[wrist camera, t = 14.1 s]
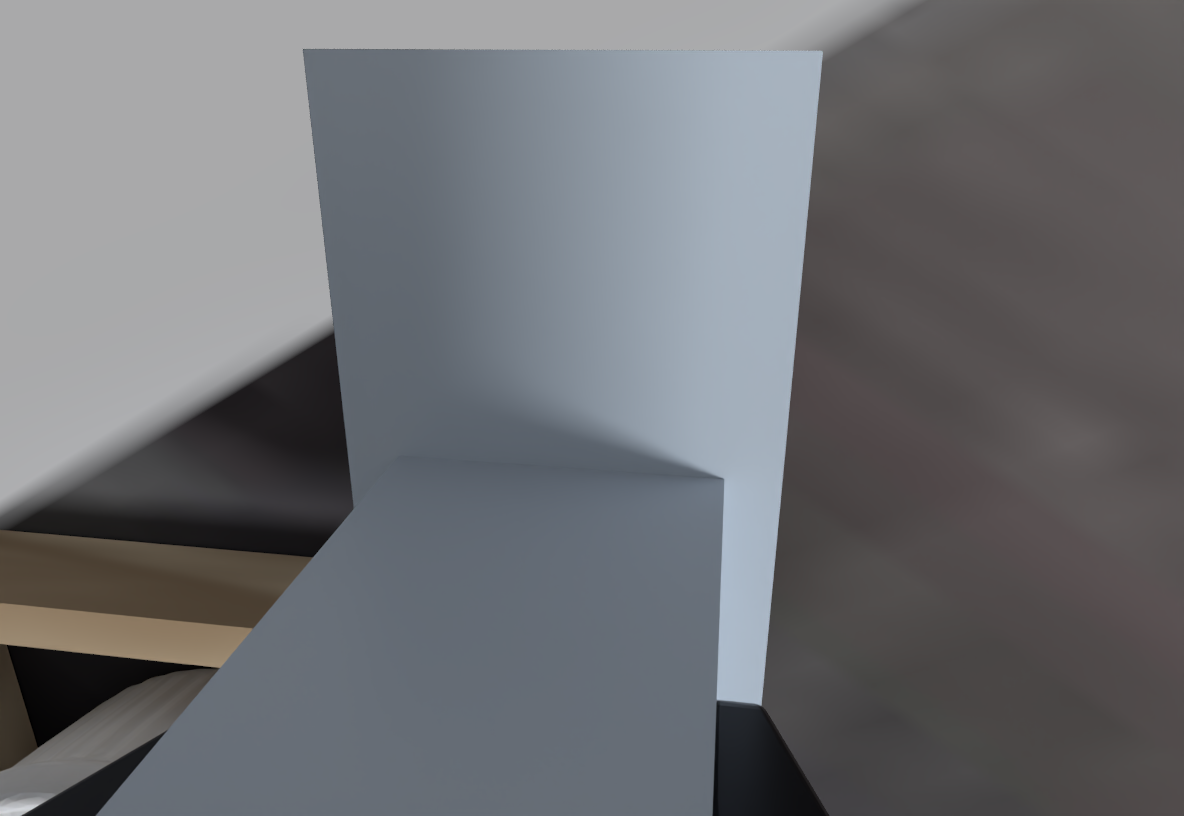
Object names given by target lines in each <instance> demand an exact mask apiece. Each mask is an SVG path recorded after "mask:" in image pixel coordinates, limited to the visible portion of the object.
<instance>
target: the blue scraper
mask: <svg viewBox="0 0 1184 816" xmlns="http://www.w3.org/2000/svg"><path fill="white" fill-rule="evenodd" d="M303 54H304V63H305V73H306V80H307V81H306V82H307V90H308V100H309V108H310V118H311V127H312V136H313V145H314V154H315V163H316V172H317V181H318V189H319V199H320V208H321V215H322V226H323V234H324V243H325V252H326V262H327V270H328V278H329V289H330V298H331V307H332V315H333V325H334V334H335V343H336V352H337V361H338V370H339V379H340V388H341V397H342V406H343V415H344V424H345V433H346V442H347V451H348V460H349V469H350V478H351V487H352V496H353V505H354V509H353V511H352V512H351V513H350V514H349V515H348V517H347V518H346V519H345V520H344V521H343V523H342V524H341V525H340V526H339V527H338V528H337V530H336V531H335V532H334V533H333V534H332V536H331V537H330V538H329V539H328V540H327V542H326V543H325V544H324V545H323V546H322V548H321V549H320V550H319V551H318V552H317V553H316V555H315V556H314V557H313V558H312V559H311V561H310V562H309V563H308V564H307V565H306V567H305V568H304V569H303V570H302V571H301V572H300V574H299V575H298V576H297V577H296V578H295V580H294V581H293V582H292V583H291V584H290V586H289V587H288V588H287V589H286V590H285V591H284V593H283V594H282V595H281V596H280V597H279V599H278V600H277V601H276V602H275V603H274V605H273V606H272V607H271V608H270V609H269V610H268V612H267V613H266V614H265V615H264V616H263V618H262V619H261V620H260V621H259V622H258V624H257V625H256V626H255V627H254V628H253V629H252V631H251V632H250V633H249V634H248V635H247V637H246V638H245V639H244V640H243V641H242V643H241V644H240V645H239V646H238V647H237V649H236V650H235V651H234V652H233V653H232V654H231V656H230V657H229V658H228V659H227V660H226V662H225V663H224V664H223V665H222V666H221V668H220V669H219V670H218V671H217V672H216V673H215V675H214V676H213V677H212V678H211V679H210V681H209V682H208V683H207V684H206V685H205V687H204V688H203V689H202V690H201V691H200V692H199V694H198V695H197V696H196V697H195V698H194V700H193V701H192V702H191V703H190V704H189V706H188V707H187V708H186V709H185V710H184V711H183V713H182V714H181V715H180V716H179V717H178V719H177V720H176V721H175V722H174V723H173V725H172V726H171V727H170V728H169V729H168V730H167V732H166V733H165V734H164V735H163V736H162V738H161V739H160V740H159V741H158V742H157V744H156V745H155V746H154V747H153V748H152V750H151V751H150V752H149V753H148V754H147V755H146V757H145V758H144V759H143V760H142V761H141V763H140V764H139V765H138V766H137V767H136V769H135V770H134V771H133V772H132V773H131V774H130V776H129V777H128V778H127V779H126V780H125V782H124V783H123V784H122V785H121V786H120V788H119V789H118V790H117V791H116V792H115V793H114V795H113V796H112V797H111V798H110V799H109V801H108V802H107V803H106V804H105V805H104V807H103V808H102V809H101V810H100V811H99V812H98V814H97V815H96V816H712V814H713V786H714V758H715V730H716V702H717V700H726V701H735V702H745V703H754V704H758V705H760V706H761V703H762V692H763V682H764V671H765V660H766V650H767V639H768V629H769V618H770V607H771V597H772V586H773V576H774V565H775V554H776V544H777V533H778V523H779V512H780V501H781V491H782V480H783V469H784V459H785V448H786V438H787V427H788V416H789V406H790V395H791V385H792V374H793V363H794V353H795V342H796V331H797V321H798V310H799V300H800V289H801V278H802V268H803V257H804V247H805V236H806V225H807V215H808V204H809V193H810V183H811V172H812V162H813V151H814V140H815V130H816V119H817V109H818V98H819V87H820V77H821V66H822V56H823V51H714V50H712V51H705V50H703V51H702V50H696V51H695V50H428V49H427V50H423V49H421V50H420V49H419V50H415V49H410V50H409V49H405V50H404V49H402V50H401V49H392V50H391V49H303Z"/></svg>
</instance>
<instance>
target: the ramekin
mask: <svg viewBox="0 0 1184 816" xmlns="http://www.w3.org/2000/svg"><path fill="white" fill-rule="evenodd" d="M219 669H220V668H212V669H194V670H188V671H177V672H172V673H169V674H167V675H162V676H156V677H153V678H150V679H148V680H146V681H144V682H142V683H141V684H137V685H133V686H130V687H128V688H126V689H125V690H123V691H121V692H120V693H118V694H117V695H116V696H114V697H112V698H110V699H108V700H107V701H105V702H103V703H102V704H100V705H99V706H97V707H96V708H95V709H93V710H92V711H90V712H89V713H87V714H86V715H85V716H83V717H82V718H80V719H79V720H77V721H76V722H75V723H73V724H72V725H70V726H69V727H68V728H66V729H65V730H63V731H62V732H60V733H59V734H57V735H56V736H55V737H53V738H52V739H50V740H49V741H47V742H46V743H44V744H43V745H42V746H40V747H39V748H37V749H36V750H35V751H33V752H32V753H31V754H29V755H28V756H26V757H25V758H24V759H22V760H21V761H20V762H18V763H17V764H15V765H14V766H13V767H11V768H9V769H6V770H3V771H1V772H0V816H21V815H23V814H25V813H26V812H28V811H30V810H32V809H33V808H35V807H37V806H38V805H40V804H42V803H43V802H45V801H47V800H49V799H50V798H52V797H54V796H55V795H57V794H59V793H61V792H62V791H64V790H66V789H67V788H69V787H71V786H73V785H74V784H76V783H78V782H79V781H81V780H83V779H84V778H86V777H88V776H90V775H91V774H93V773H95V772H96V771H98V770H100V769H102V768H103V767H105V766H107V765H108V764H110V763H112V762H114V761H115V760H117V759H119V758H120V757H122V756H124V755H125V754H127V753H129V752H131V751H132V750H134V749H136V748H137V747H139V746H141V745H143V744H144V743H146V742H148V741H149V740H151V739H153V738H155V737H156V736H158V735H160V734H161V733H163V732H165V731H166V730H168V729H169V728H170V727H171V726H172V725H173V723H174V722H175V721H176V720H177V719H178V717H179V716H180V715H181V714H182V713H183V711H184V710H185V709H186V708H187V707H188V706H189V704H190V703H191V702H192V701H193V700H194V698H195V697H196V696H197V695H198V694H199V692H200V691H201V690H202V689H203V688H204V687H205V685H206V684H207V683H208V682H209V681H210V679H211V678H212V677H213V676H214V675H215V673H216V672H217V671H218V670H219Z"/></svg>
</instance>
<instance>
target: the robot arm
mask: <svg viewBox="0 0 1184 816" xmlns="http://www.w3.org/2000/svg"><path fill="white" fill-rule="evenodd" d="M166 732H167V730H166V731H165V732H163V733H161V734H160V735H158V736H156V737H155V738H153V739H151V740H149V741H148V742H146V743H144V744H143V745H141V746H139V747H137V748H136V749H134V750H132V751H131V752H129V753H127V754H125V755H124V756H122V757H120V758H119V759H117V760H115V761H114V762H112V763H110V764H108V765H107V766H105V767H103V768H102V769H100V770H98V771H96V772H95V773H93V774H91V775H90V776H88V777H86V778H84V779H83V780H81V781H79V782H78V783H76V784H74V785H73V786H71V787H69V788H67V789H66V790H64V791H62V792H61V793H59V794H57V795H55V796H54V797H52V798H50V799H49V800H47V801H45V802H43V803H42V804H40V805H38V806H37V807H35V808H33V809H32V810H30V811H28V812H26V813H25V814H23V815H21V816H96V815H97V814H98V812H99V811H100V810H101V809H102V808H103V807H104V805H105V804H106V803H107V802H108V801H109V799H110V798H111V797H112V796H113V795H114V793H115V792H116V791H117V790H118V789H119V788H120V786H121V785H122V784H123V783H124V782H125V780H126V779H127V778H128V777H129V776H130V774H131V773H132V772H133V771H134V770H135V769H136V767H137V766H138V765H139V764H140V763H141V761H142V760H143V759H144V758H145V757H146V755H147V754H148V753H149V752H150V751H151V750H152V748H153V747H154V746H155V745H156V744H157V742H158V741H159V740H160V739H161V738H162V736H163V735H164V734H165V733H166ZM712 816H829V814H828V813H827V811H826V809H825V808H824V806H823V804H822V803H821V801H820V799H819V798H818V796H817V794H816V793H815V791H814V789H813V788H812V786H811V784H810V783H809V781H808V779H807V778H806V776H805V774H804V773H803V771H802V769H801V768H800V766H799V764H798V763H797V761H796V759H795V758H794V756H793V754H792V753H791V751H790V749H789V748H788V746H787V744H786V743H785V741H784V739H783V738H782V736H781V734H780V733H779V731H778V729H777V728H776V726H775V724H774V723H773V721H772V719H771V718H770V716H769V715H768V713H767V712H766V710H765V709H764V708H763V707H762V706H760V705H758V704H754V703H745V702H735V701H726V700H717V702H716V730H715V758H714V786H713V814H712Z"/></svg>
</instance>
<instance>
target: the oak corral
mask: <svg viewBox="0 0 1184 816" xmlns="http://www.w3.org/2000/svg"><path fill="white" fill-rule="evenodd" d="M312 558H313V557H302V556H291V555H280V554H268V553H257V552H246V551H234V550H223V549H212V548H200V547H189V546H178V545H166V544H155V543H144V542H132V541H121V540H110V539H98V538H87V537H76V536H64V535H53V534H42V533H30V532H19V531H8V530H0V772H1V771H3V770H6V769H9V768H11V767H13V766H14V765H15V764H17V763H18V762H20V761H21V760H22V759H24V758H25V757H26V756H28V755H29V754H31V753H32V752H33V751H35V750H36V749H37V748H38V747H37V743H36V740H35V737H34V733H33V730H32V727H31V724H30V720H29V717H28V714H27V710H26V707H25V704H24V700H23V697H22V694H21V691H20V687H19V684H18V681H17V677H16V674H15V671H14V668H13V664H12V661H11V658H10V654H9V651H8V648H7V645H14V646H24V647H33V648H42V649H51V650H60V651H70V652H79V653H88V654H97V655H107V656H116V657H125V658H134V659H143V660H153V661H162V662H171V663H180V664H190V665H199V666H208V667H217V668H221V666H222V665H223V664H224V663H225V662H226V660H227V659H228V658H229V657H230V656H231V654H232V653H233V652H234V651H235V650H236V649H237V647H238V646H239V645H240V644H241V643H242V641H243V640H244V639H245V638H246V637H247V635H248V634H249V633H250V632H251V631H252V629H253V628H254V627H255V626H256V625H257V624H258V622H259V621H260V620H261V619H262V618H263V616H264V615H265V614H266V613H267V612H268V610H269V609H270V608H271V607H272V606H273V605H274V603H275V602H276V601H277V600H278V599H279V597H280V596H281V595H282V594H283V593H284V591H285V590H286V589H287V588H288V587H289V586H290V584H291V583H292V582H293V581H294V580H295V578H296V577H297V576H298V575H299V574H300V572H301V571H302V570H303V569H304V568H305V567H306V565H307V564H308V563H309V562H310V561H311V559H312Z"/></svg>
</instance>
